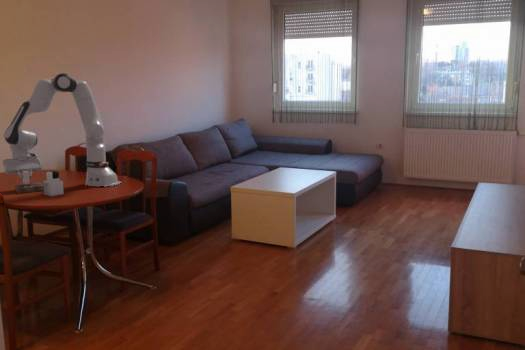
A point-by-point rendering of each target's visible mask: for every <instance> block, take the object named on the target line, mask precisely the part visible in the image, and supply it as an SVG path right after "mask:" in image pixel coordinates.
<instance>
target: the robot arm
mask: <svg viewBox="0 0 525 350" xmlns="http://www.w3.org/2000/svg"><path fill="white" fill-rule="evenodd" d="M58 92H59V93H70V94H72V97H73V99H74V102H75V105H76V109H77V110H78V114H79V116H80V119H81V122H82V126H83V128H84V132H85V144H86V163H85V164H86V167H87V168H86V178H85V180H86V181H85V183H84V184H85V186H87V185H88V187H89V186H90V187H100V186H104V187H103V188H108V187H107V186H110V187H114V185H115V186H119V185H121V184H122V181H118V175H117V173H116V172H114V171H113V170H112V169H111V168H110V167H109V163H110V162H109V161H107V158H106V142H105V141H106V139H105V126H104V123H103V121H102V117H101V115H100V112H99V108H98V106H97V103H96V101H95V98H94V95H93V91H92V90H91V88H90V86H89V84H88V82H86V81H85V80H76V79H74V78H73V77H72V76H71V75H70V74H68V73H65V72H61V73H58V74H56V75H55V76H54V78H52V79H47V78H41V79H39V80H38V82H37V83H36V85H35V87H34V89H33V92H32V94H31V96H30V98H29V99H28V100H26V101H24V102H23V103H22V104H21V105H20V107H19V109H18V110H17V112H16V114H15V115H14V117H13V119H12V121H11V122H10V124H9V126H8V127H7V128H6V130H5V132H4V133H3V137H4V139H5V141H6V143H7V144H9V149H10V152H11V156H12V158H8V159H7V158H5V159H4V160H2V166H3V167H4V173H5V174H7V175H9V174H16V175H18V176H19V178H20V179H23V174H22V171H29V179H30V178H32V174H33V173H34V172H41V171H42V170H43V164H42V163H43V162H42V161H41V159H40V158H39V157H38V154H37V153H33V152H29V151H30V150H32V149H33V148H34V147H36V146H37V145H38V135H37V134H36V133H35V132H33V131H31V130H26V129H22V128H21V127H22V125H23V123H24V122H25V120H26V118H27V116H29V115H31V114H35V113H42V112H46V111H47V110H48V109H49V108H50V106H51V104H52V101H53V98H54V95H55V94H56V93H58ZM120 183H121V184H120ZM118 184H119V185H118Z"/></svg>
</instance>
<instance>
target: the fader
mask: <svg viewBox="0 0 525 350" xmlns="http://www.w3.org/2000/svg"><path fill="white" fill-rule="evenodd" d="M21 174H23V178H22V183H21V184H22V185H23V186H31V183H30V182H31V181H30V178H29V174H30V173H29V171H22V173H21Z"/></svg>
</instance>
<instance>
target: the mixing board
mask: <svg viewBox="0 0 525 350" xmlns="http://www.w3.org/2000/svg"><path fill="white" fill-rule="evenodd" d="M14 190H15V192H17V193H18V194H28V193H35V192H44V184H43V181H42V182H32V183H31V186H23V185H22V183H21V184H14Z"/></svg>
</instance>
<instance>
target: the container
mask: <svg viewBox="0 0 525 350" xmlns="http://www.w3.org/2000/svg"><path fill="white" fill-rule="evenodd" d="M42 182H43V184H44V191H43V195H45V196H48V197H49V196H50V197H56V196H60V195H64V181H63V180H60V172H59V171H57V170H51V171H47V172H46V180H43V181H42Z"/></svg>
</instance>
